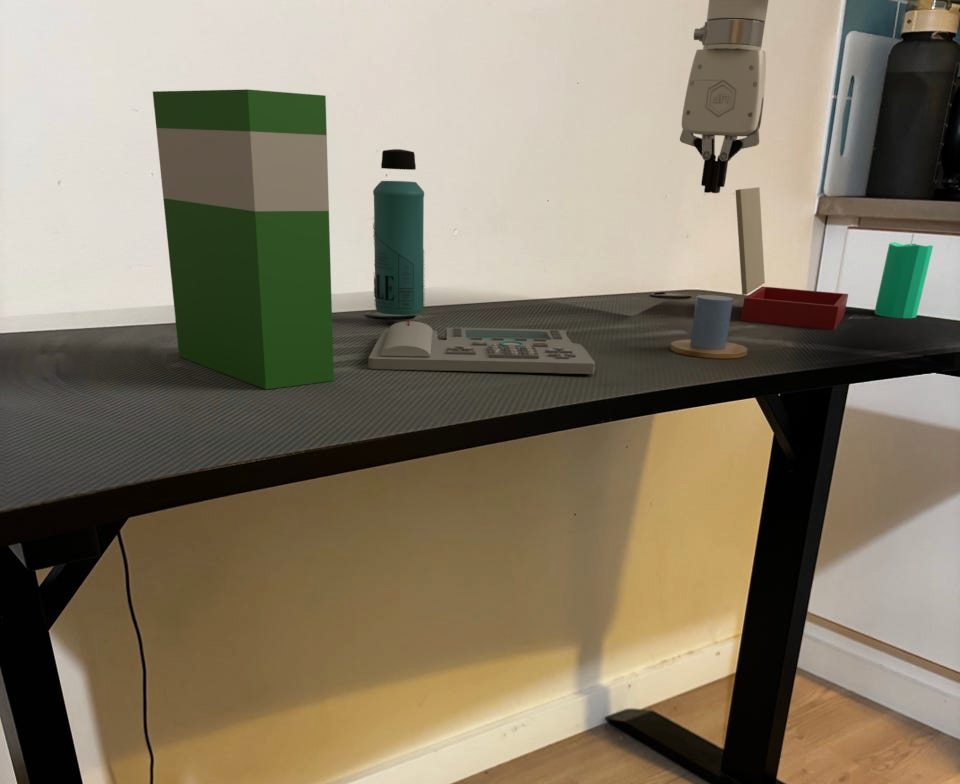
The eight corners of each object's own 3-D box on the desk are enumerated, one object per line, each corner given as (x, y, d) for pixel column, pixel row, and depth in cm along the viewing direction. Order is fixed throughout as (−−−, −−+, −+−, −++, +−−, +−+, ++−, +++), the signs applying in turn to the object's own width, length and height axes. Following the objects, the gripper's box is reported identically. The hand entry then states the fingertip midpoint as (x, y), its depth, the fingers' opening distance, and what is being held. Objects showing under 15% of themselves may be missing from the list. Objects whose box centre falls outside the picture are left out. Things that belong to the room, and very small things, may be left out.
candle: (921, 323, 142) (942, 235, 136) (881, 321, 142) (900, 233, 136) (906, 317, 147) (925, 232, 142) (867, 315, 147) (885, 230, 142)
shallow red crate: (843, 320, 142) (848, 293, 140) (832, 335, 129) (838, 306, 127) (757, 312, 146) (762, 286, 144) (739, 325, 133) (744, 297, 132)
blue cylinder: (728, 345, 116) (736, 297, 113) (722, 350, 112) (729, 301, 110) (694, 341, 117) (700, 293, 114) (686, 346, 114) (693, 297, 111)
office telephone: (367, 344, 97) (380, 313, 115) (368, 371, 98) (380, 336, 116) (596, 350, 98) (574, 318, 116) (594, 376, 99) (572, 340, 117)
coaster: (752, 349, 117) (753, 344, 117) (739, 361, 110) (740, 356, 109) (679, 341, 120) (680, 336, 120) (662, 353, 113) (662, 347, 112)
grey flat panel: (759, 187, 139) (754, 188, 139) (740, 189, 126) (735, 190, 127) (764, 283, 144) (760, 283, 144) (747, 294, 131) (742, 295, 132)
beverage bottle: (432, 321, 126) (434, 150, 117) (412, 329, 120) (413, 150, 111) (386, 317, 128) (385, 148, 119) (364, 324, 122) (362, 147, 113)
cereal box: (179, 356, 100) (152, 91, 89) (243, 349, 104) (225, 96, 94) (265, 389, 88) (247, 89, 78) (333, 380, 93) (325, 95, 82)
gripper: (670, 35, 126) (653, 190, 134) (787, 36, 121) (761, 196, 129) (683, 41, 132) (666, 188, 140) (795, 42, 127) (770, 195, 135)
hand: (711, 192), depth 135 cm, fingers closed
